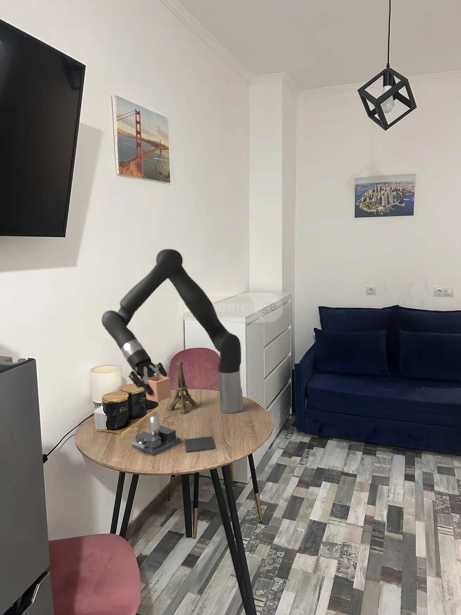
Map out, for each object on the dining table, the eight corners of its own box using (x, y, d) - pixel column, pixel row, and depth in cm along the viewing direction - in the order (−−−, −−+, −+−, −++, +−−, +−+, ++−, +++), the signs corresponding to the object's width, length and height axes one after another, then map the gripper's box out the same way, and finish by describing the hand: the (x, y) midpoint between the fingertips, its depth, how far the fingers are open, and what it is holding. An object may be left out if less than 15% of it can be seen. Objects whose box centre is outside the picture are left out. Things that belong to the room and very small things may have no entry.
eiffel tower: (182, 403, 206) (178, 349, 202) (200, 406, 199) (196, 351, 196) (166, 410, 197) (161, 354, 194) (184, 414, 191) (179, 356, 187)
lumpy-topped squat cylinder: (92, 428, 183) (89, 407, 181) (116, 416, 193) (114, 397, 192) (110, 432, 177) (108, 411, 176) (134, 420, 188) (132, 400, 186)
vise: (160, 434, 172) (158, 408, 170) (180, 441, 164) (178, 414, 163) (128, 449, 161) (125, 421, 159) (148, 457, 153) (145, 428, 152)
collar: (160, 393, 165) (158, 375, 164) (171, 396, 161) (169, 377, 160) (146, 399, 160) (144, 379, 159) (157, 402, 156) (156, 382, 155)
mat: (211, 437, 167) (211, 436, 167) (215, 449, 157) (215, 447, 157) (184, 440, 165) (184, 439, 165) (186, 452, 155) (186, 451, 155)
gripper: (123, 353, 159) (147, 391, 152) (155, 344, 169) (179, 379, 163) (115, 366, 163) (139, 403, 157) (147, 356, 173) (170, 391, 167)
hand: (159, 391), depth 160 cm, fingers closed on collar, 6 cm apart
